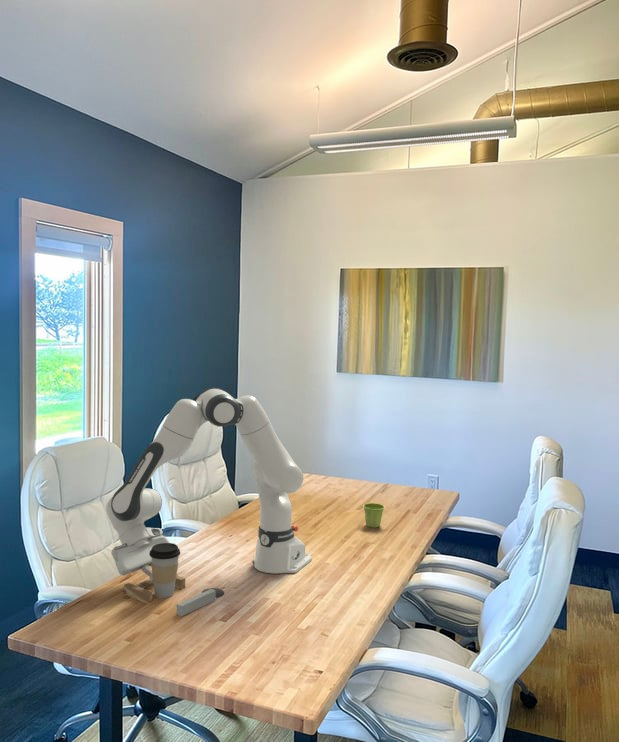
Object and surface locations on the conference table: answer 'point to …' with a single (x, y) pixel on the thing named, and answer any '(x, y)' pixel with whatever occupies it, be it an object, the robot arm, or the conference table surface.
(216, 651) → the conference table surface
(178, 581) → the oak cubby
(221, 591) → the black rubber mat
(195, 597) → the bar
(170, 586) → the coffee cup
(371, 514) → the plant pot
